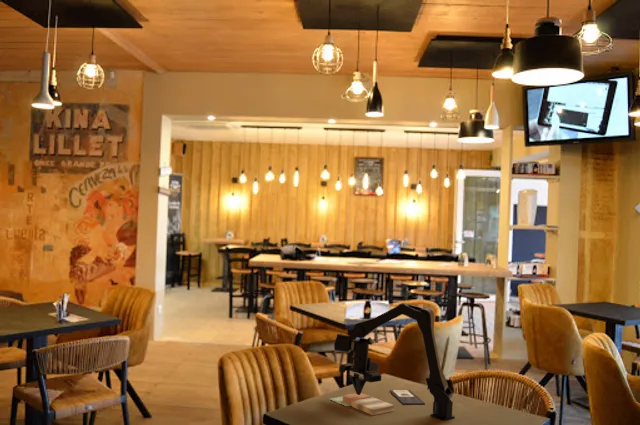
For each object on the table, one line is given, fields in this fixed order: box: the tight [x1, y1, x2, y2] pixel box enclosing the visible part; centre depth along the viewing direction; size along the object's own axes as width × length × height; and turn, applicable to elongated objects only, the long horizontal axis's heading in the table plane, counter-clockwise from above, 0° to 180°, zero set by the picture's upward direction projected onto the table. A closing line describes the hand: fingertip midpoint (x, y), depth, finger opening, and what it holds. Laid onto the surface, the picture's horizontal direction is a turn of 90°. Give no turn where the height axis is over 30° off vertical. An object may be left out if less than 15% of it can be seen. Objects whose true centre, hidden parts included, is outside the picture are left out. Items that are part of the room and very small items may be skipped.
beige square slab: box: [350, 396, 395, 416], centre depth 231 cm, size 12×11×2 cm
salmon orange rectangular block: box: [342, 392, 371, 404], centre depth 238 cm, size 6×9×2 cm, turn 128°
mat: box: [329, 395, 351, 407], centre depth 240 cm, size 10×15×1 cm, turn 128°
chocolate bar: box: [389, 389, 426, 406], centre depth 248 cm, size 9×1×18 cm
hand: (358, 394), depth 237 cm, fingers closed
